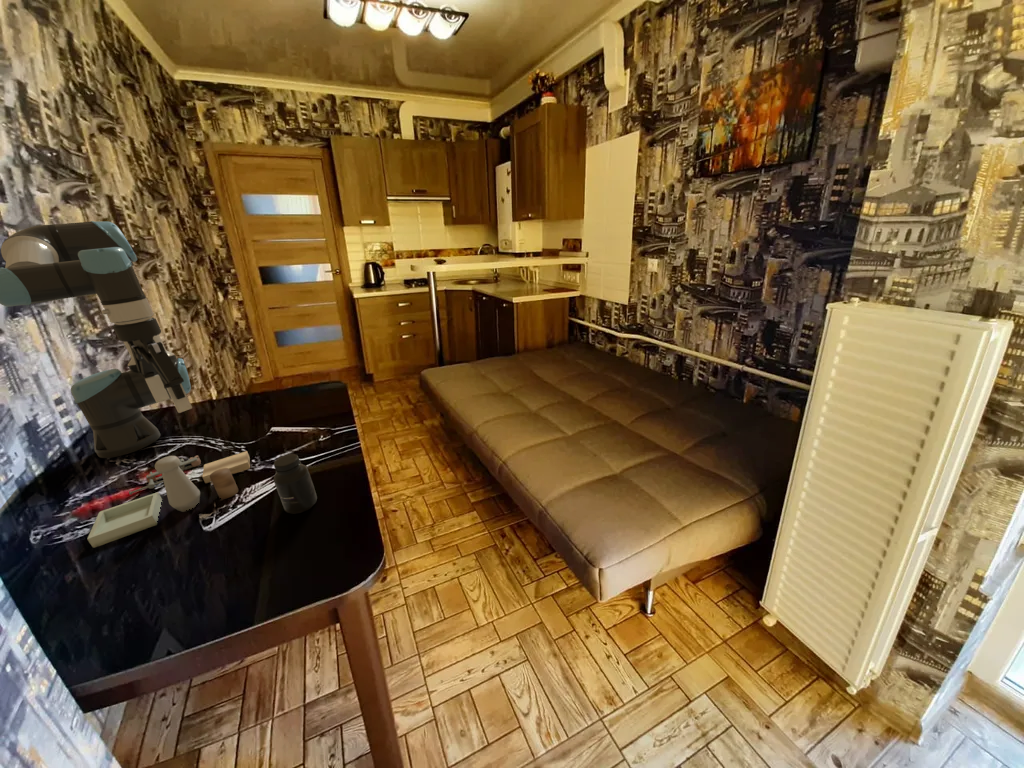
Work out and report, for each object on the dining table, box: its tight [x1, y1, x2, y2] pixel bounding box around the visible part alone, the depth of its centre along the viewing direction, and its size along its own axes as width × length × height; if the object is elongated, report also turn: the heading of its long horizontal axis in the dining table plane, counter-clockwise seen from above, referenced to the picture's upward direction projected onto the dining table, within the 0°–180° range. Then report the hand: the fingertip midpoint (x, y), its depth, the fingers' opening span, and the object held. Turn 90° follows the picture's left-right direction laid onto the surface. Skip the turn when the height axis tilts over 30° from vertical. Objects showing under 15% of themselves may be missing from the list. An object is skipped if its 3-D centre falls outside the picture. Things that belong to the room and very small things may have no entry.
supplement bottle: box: [273, 453, 318, 515], centre depth 89 cm, size 7×7×12 cm
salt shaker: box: [154, 455, 201, 513], centre depth 92 cm, size 6×6×13 cm
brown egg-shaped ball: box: [210, 468, 239, 500], centre depth 96 cm, size 4×4×6 cm
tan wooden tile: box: [202, 450, 251, 484], centre depth 108 cm, size 7×10×2 cm
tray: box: [87, 491, 163, 549], centre depth 90 cm, size 11×11×2 cm
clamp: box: [128, 454, 202, 495], centre depth 108 cm, size 15×2×10 cm
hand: (173, 405), depth 99 cm, fingers open, 13 cm apart
